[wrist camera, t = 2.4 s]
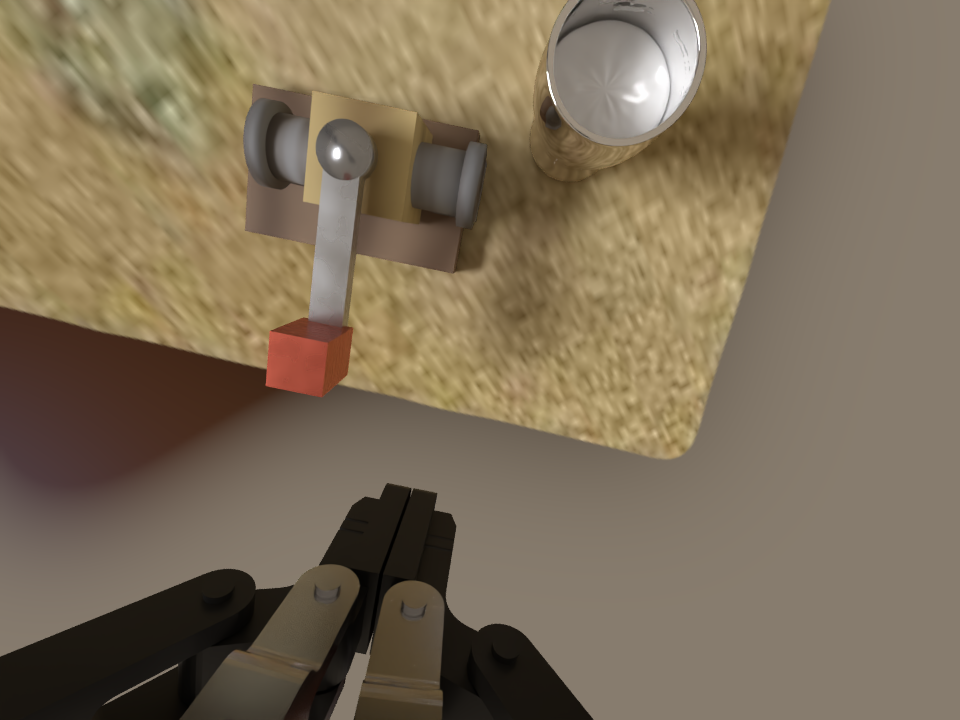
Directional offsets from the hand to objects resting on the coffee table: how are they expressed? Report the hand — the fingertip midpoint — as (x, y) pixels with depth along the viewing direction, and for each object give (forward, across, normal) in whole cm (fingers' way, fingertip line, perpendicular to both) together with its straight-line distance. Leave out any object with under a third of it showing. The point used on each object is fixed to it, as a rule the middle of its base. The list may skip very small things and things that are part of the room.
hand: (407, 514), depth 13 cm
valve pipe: (+25, +9, -10) cm, 28 cm away
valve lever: (+15, +8, -5) cm, 18 cm away
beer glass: (+25, -5, -16) cm, 30 cm away
